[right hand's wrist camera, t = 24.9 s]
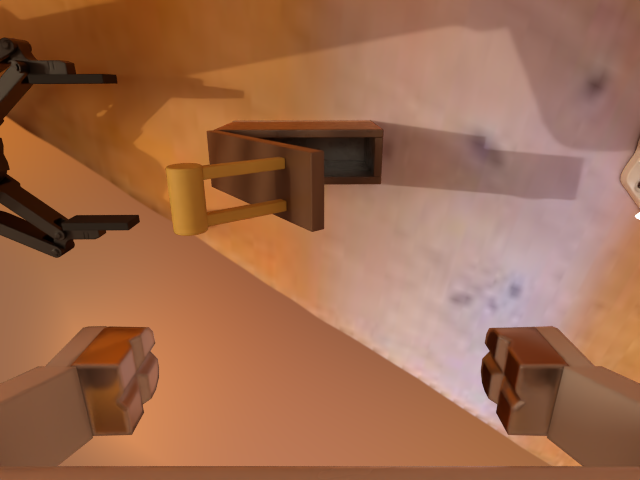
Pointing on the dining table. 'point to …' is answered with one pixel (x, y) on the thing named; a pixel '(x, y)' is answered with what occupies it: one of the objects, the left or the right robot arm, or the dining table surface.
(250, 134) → the chest
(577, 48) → the dining table surface
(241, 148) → the lid
